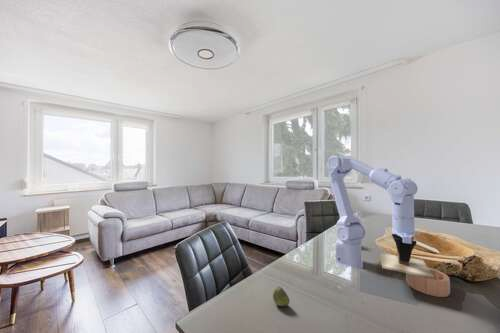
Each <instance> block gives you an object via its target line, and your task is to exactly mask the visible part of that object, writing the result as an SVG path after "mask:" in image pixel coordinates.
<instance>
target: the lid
mask: <svg viewBox="0 0 500 333" xmlns="http://www.w3.org/2000/svg"><path fill="white" fill-rule="evenodd" d="M397 254H398V255H394V254H390V253H384V252H379V258H380V262H381V267H382V269H385V270H390V271H395V272H398V273H399V272H400V273H405V274H406V273H409V274H413V275H418V276H423V277H428V278H433V279H434V276H433V275H432V273H431V272H430V270H429V269H428V267H429V266H427V264H426V263H425V261H424V260H423V259H418V258H412V257H410V261H409V262H403V261H401V260H400V257H399V253H398V252H397Z"/></svg>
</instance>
